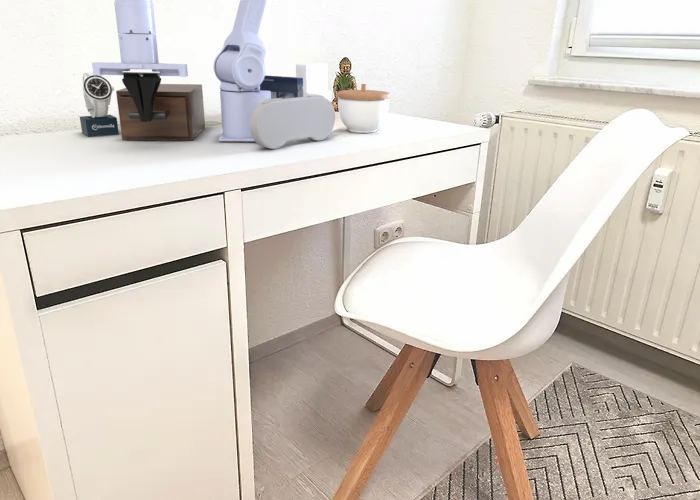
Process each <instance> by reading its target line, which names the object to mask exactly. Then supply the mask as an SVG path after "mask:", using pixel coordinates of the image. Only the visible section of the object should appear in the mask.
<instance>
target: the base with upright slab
mask: <svg viewBox="0 0 700 500" xmlns="http://www.w3.org/2000/svg"><path fill="white" fill-rule="evenodd" d="M295 77H297V78H303V87H302V89H303V97H307V95H323V96H325V98H327V99H329V100H330V102H331V103H332V91H331V90H330V89H329V90H328V63H318V62H316V63H315V62H314V63H300V64H299V63H298V64H295Z"/></svg>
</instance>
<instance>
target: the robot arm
mask: <svg viewBox="0 0 700 500" xmlns="http://www.w3.org/2000/svg"><path fill="white" fill-rule="evenodd" d="M272 2H273V0H239V3H238V7H237V11H236V15H235V19H234V22H233V27H232V30H231V31H230V33H229V35H228V36H227V37H226V38H225V40H224V42H223V46H222V49H220V52H218V54H216V57H215V59H214V61H213V72H214V75H215V77H216V79H217V80H218V81H219V82H220V85H219V95H220V96H219V97H220V98H219V99H220V111H221V112H220V113H221V129H222V130H221V131H222V133H221V134H220V136H219V137H218V142H255V140H254V139H253V137H252V134H251V130H250V121H251V116H252V114H253V111H254V110H255V108H256V107H257V106H258V105H259V104H260V103H262V101H264V100H267V99H271V91H262V90H260V84H261V83H262V81H263V80H264V77H265V76H266V66H265V65H266V64H265V58H266V53H267V50H266V47H265V44H264V42H263V37H264V33H265V29H266V26H267V22H268V18H269V13H270V11H271V6H272ZM114 10H115V11H114V12H115V21H116V28H117V29H116V30H117V37H118V46H119V54H120V62H97V61H96V62H91V67H92V73H93V75H102V76H122V78H121V82H122V84H123V85H124V88H127V90H128V92H129V93H130V95H131V97H132V99H133V101H134V103H135V105H136V108H137V110H138V113H139V116H140V120H141V122H150V121H152V112H153V105H154V100H155V97H156V93H157V90H158V88H159V85H160V84H162V83H161V82H162V78H161V77H179V78H180V77H181V78H187V77H188V76H189V72H188V71H189V70H188V64H187V63H160V61H159V52H158V51H159V50H158V41H157V40H158V39H157V31H156V20H155V19H156V18H155V9H154V3H153V0H114ZM131 70H151V72H144V71H143V72H141V71H138V72H137V71H131ZM255 143H256V142H255Z"/></svg>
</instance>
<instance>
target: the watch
mask: <svg viewBox="0 0 700 500" xmlns="http://www.w3.org/2000/svg"><path fill="white" fill-rule="evenodd" d="M82 91H83V93H82V94H83V98H84V103H85V108H86V110H87V112H88V114H89V115H84V116H83V115H82V116H81V115H80V116H79V120H80V121H79V122H80V129H81V134H82V135H84V136H86V137H87V138H90V137H100V136H101V137H102V136H112V135H113V136H114V135H119V134H120V131H119V124H118V118H117V117H116V116H115V115H113V114H109V106H110V105H111V99H112V94H113V92H114V91H115V87H114V86H112V83H110V81H109V79H107V78H106V77H104V75H93V72H86V73H83V74H82Z"/></svg>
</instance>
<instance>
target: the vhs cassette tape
mask: <svg viewBox="0 0 700 500" xmlns="http://www.w3.org/2000/svg"><path fill="white" fill-rule="evenodd" d="M302 87H303V78H297V77H296V76H295V77H294V76H281V75H265V77H264V80H263V81H262V83H261V84H260V90H262V91H271V99H274V98H282V99H286V98H296V97H303V89H302Z"/></svg>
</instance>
